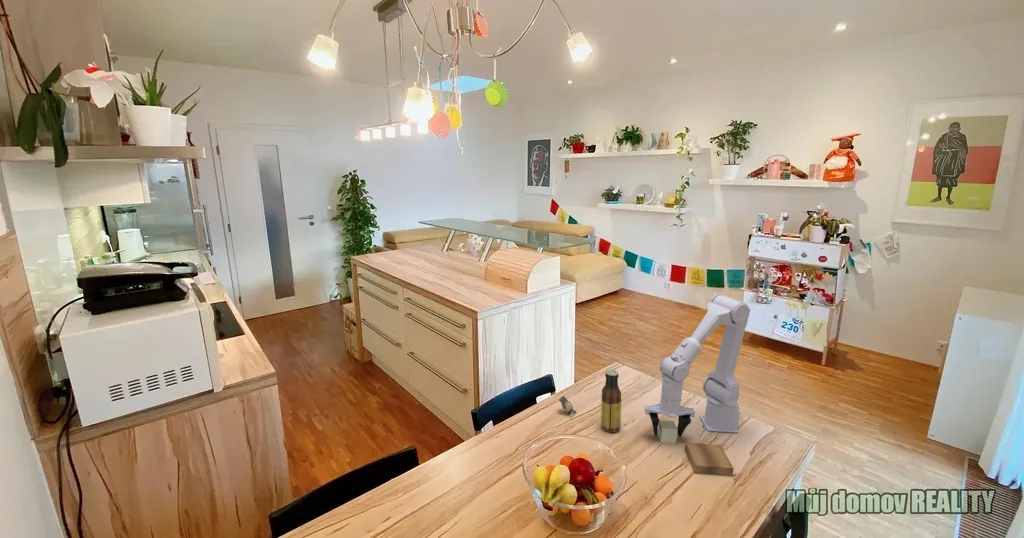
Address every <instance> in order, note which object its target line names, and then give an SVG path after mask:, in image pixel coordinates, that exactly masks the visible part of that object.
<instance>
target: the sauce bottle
mask: <svg viewBox="0 0 1024 538" xmlns="http://www.w3.org/2000/svg"><path fill="white" fill-rule="evenodd" d="M604 373H605V374H604V375H605V384H604V385H603V388H602V389H601V405H600V406H601V409H600V410H601V411H600V412H601V414H600V415H601V417H600V418H601V420H600V423H601V424H600V425H601V428H602V430H603V431H606V432H608V433H612V434H613V433H617V432H619V431H620V430H621V425H622V424H621V423H622V392H621V389H620V387H619V381H618V380H619V376H620V375H619V372H618V370H616V369H607V370H605V372H604Z"/></svg>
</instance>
